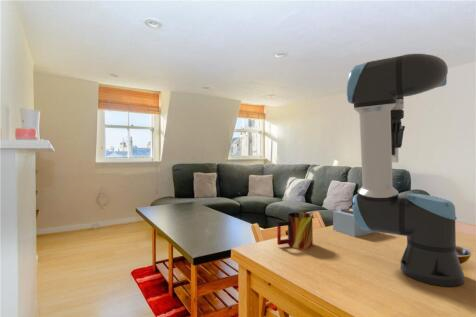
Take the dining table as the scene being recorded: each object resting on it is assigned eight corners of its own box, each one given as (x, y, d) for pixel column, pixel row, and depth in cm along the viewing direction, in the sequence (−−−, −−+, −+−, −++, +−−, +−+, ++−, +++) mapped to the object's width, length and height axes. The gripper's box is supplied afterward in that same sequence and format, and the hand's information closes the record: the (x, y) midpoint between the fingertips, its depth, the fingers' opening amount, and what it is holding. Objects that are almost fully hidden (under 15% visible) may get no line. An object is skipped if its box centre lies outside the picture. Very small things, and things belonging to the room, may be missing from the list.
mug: (276, 247, 102) (276, 216, 102) (296, 239, 111) (296, 211, 111) (297, 253, 95) (297, 221, 95) (317, 244, 104) (316, 214, 104)
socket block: (354, 237, 113) (354, 214, 113) (333, 230, 124) (333, 209, 124) (375, 232, 119) (375, 210, 119) (353, 226, 130) (353, 206, 130)
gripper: (393, 107, 112) (393, 162, 112) (411, 110, 118) (411, 162, 118) (377, 110, 118) (377, 162, 119) (394, 112, 124) (394, 161, 125)
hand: (394, 162), depth 118 cm, fingers closed
